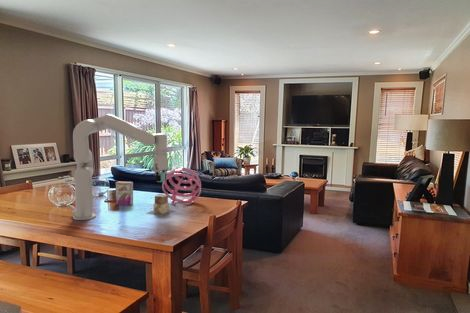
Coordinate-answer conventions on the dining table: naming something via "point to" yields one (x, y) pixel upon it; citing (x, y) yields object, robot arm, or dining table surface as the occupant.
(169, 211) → the felt mat
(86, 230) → the dining table surface
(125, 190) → the candy bar box
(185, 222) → the dining table surface
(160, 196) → the tower top
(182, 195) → the pink openwork sphere
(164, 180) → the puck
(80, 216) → the robot arm
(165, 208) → the tower base
